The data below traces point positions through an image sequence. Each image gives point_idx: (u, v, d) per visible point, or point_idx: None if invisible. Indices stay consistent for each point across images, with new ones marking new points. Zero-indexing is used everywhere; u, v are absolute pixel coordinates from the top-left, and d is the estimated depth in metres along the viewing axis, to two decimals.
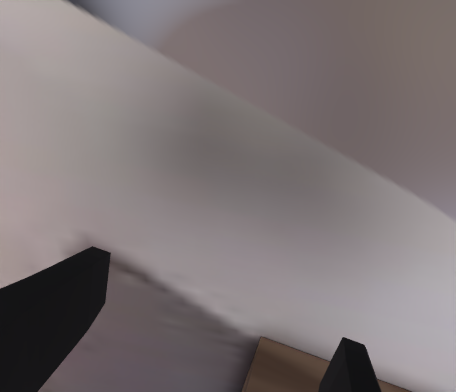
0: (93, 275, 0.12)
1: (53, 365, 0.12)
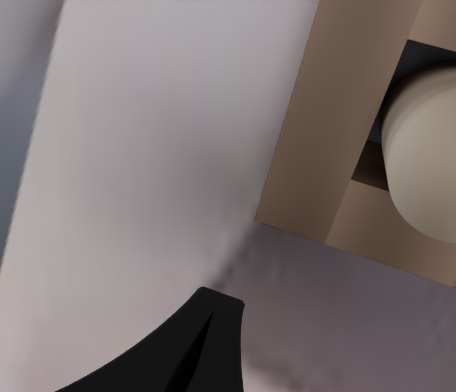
0: (211, 319, 0.12)
1: None
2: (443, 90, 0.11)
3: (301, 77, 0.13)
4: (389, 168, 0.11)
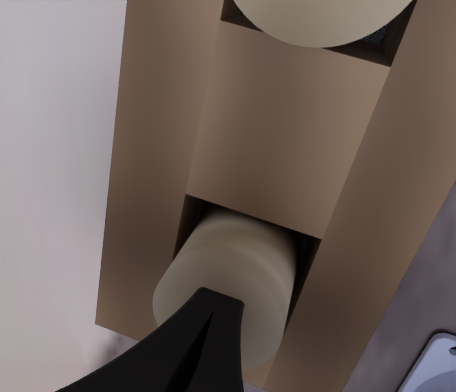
0: (211, 319, 0.11)
1: None
2: (193, 247, 0.13)
3: (109, 215, 0.15)
4: (153, 309, 0.13)
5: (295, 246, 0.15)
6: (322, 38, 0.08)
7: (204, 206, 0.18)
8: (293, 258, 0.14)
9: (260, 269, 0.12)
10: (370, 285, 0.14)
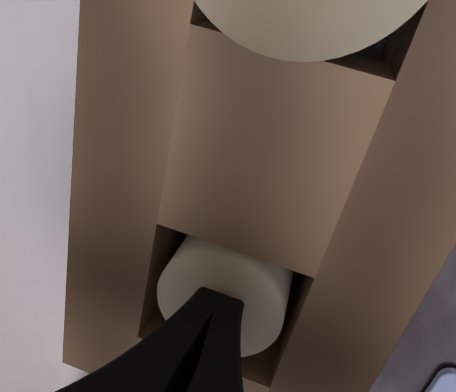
0: (211, 319, 0.11)
1: None
2: (196, 238, 0.13)
3: (72, 246, 0.13)
4: (157, 298, 0.14)
5: None
6: (309, 50, 0.06)
7: None
8: None
9: None
10: (371, 331, 0.12)
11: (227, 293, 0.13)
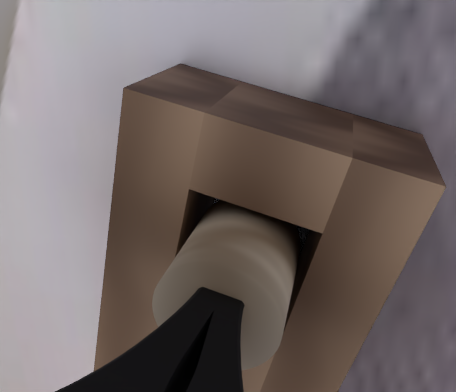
0: (211, 319, 0.11)
1: None
2: None
3: None
4: None
5: None
6: None
7: None
8: None
9: None
10: None
11: None
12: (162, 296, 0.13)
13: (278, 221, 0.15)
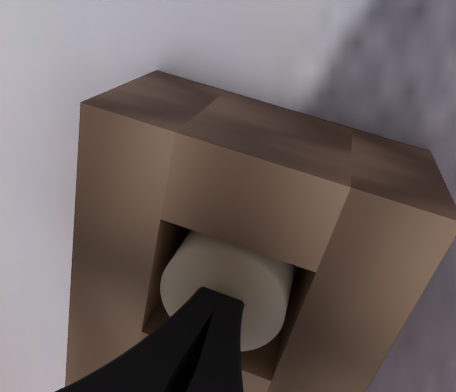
0: (211, 319, 0.11)
1: None
2: None
3: None
4: None
5: None
6: None
7: None
8: None
9: None
10: None
11: None
12: (170, 280, 0.13)
13: None
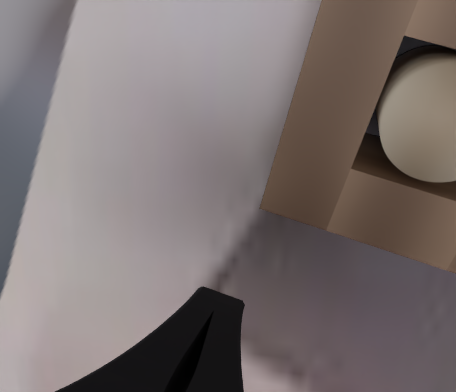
0: (211, 319, 0.11)
1: None
2: (421, 64, 0.14)
3: (304, 72, 0.14)
4: (380, 123, 0.15)
5: None
6: None
7: None
8: None
9: None
10: None
11: None
12: None
13: None
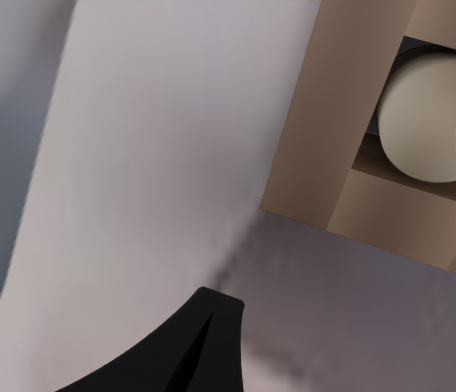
0: (211, 319, 0.11)
1: None
2: (421, 64, 0.14)
3: (304, 72, 0.14)
4: (380, 123, 0.15)
5: None
6: None
7: None
8: None
9: None
10: None
11: None
12: None
13: None
